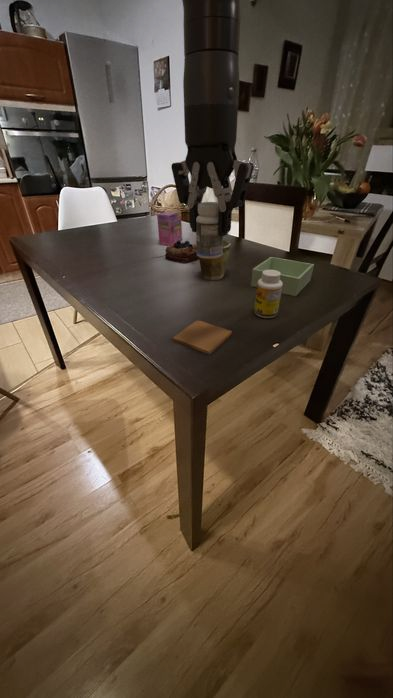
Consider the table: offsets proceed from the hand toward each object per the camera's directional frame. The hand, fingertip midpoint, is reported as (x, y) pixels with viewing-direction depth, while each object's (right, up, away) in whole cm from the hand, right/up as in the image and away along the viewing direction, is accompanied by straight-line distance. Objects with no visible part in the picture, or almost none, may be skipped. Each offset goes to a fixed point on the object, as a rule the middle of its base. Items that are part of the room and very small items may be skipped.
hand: (209, 232), depth 49 cm
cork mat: (-1, -18, +11) cm, 21 cm away
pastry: (-7, +13, +55) cm, 57 cm away
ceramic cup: (+3, +3, +41) cm, 41 cm away
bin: (+23, -1, +34) cm, 41 cm away
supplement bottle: (+14, -12, +19) cm, 27 cm away
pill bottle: (0, -3, +2) cm, 4 cm away
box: (-13, +26, +72) cm, 78 cm away
